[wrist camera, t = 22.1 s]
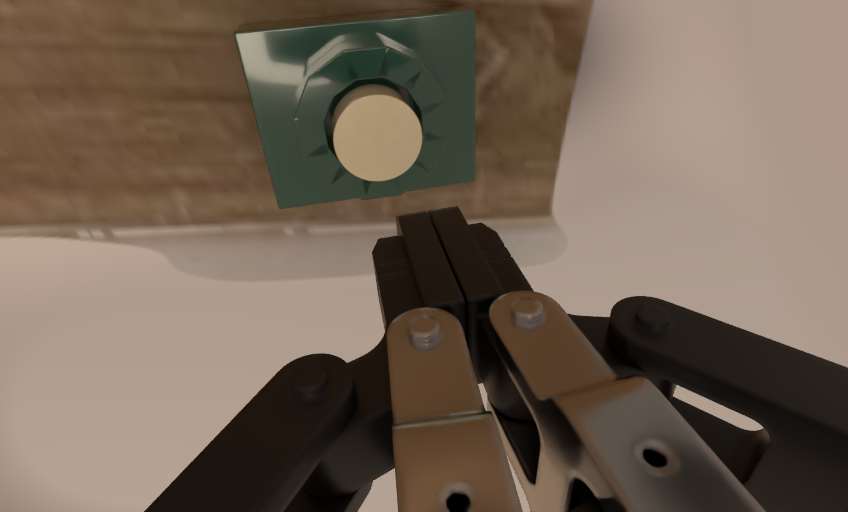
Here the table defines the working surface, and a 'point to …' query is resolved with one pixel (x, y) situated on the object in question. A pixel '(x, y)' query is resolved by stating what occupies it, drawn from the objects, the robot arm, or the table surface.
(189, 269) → the table surface
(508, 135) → the table surface
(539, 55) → the table surface
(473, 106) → the button base
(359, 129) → the button
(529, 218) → the table surface
